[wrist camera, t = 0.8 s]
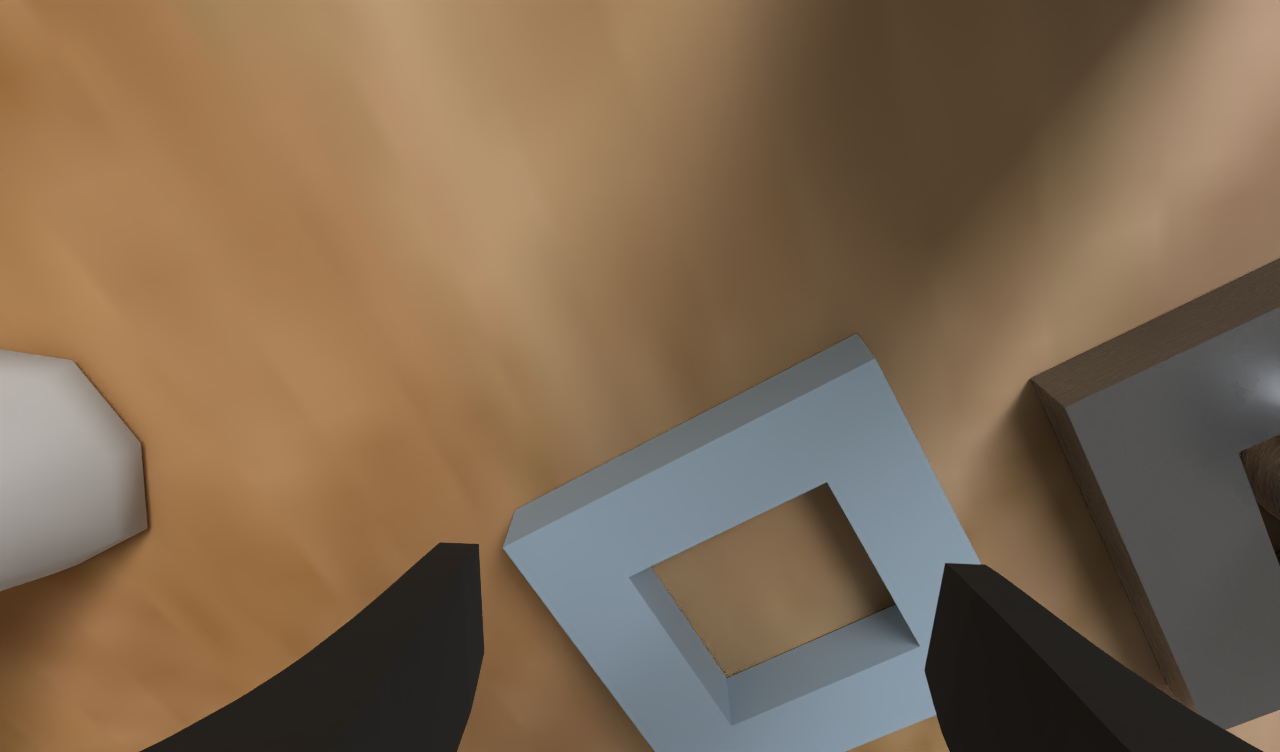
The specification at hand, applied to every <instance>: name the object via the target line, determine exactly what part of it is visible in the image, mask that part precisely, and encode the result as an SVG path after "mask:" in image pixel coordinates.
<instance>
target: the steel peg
mask: <svg viewBox="0 0 1280 752" xmlns="http://www.w3.org/2000/svg"><path fill="white" fill-rule="evenodd" d="M1241 461H1242V464H1243V467H1244V470H1245V472H1246V475H1247V478H1248V481H1249V483H1250V486H1251V489H1252V492H1253V494H1254V497H1255V500H1256V503H1257V504H1258V505H1260V506H1261V507H1263V508H1264V509H1265V510H1267V511H1268V512H1269V513H1271V514H1272V515H1273V516H1275V517H1276V518H1278V519H1279V520H1280V435H1278V436H1275V437H1273V438H1271V439H1268V440H1266V441H1264V442H1262V443H1259V444H1257V445H1255V446H1252V447H1250V448H1248V449H1246V450H1243V452H1242V456H1241Z"/></svg>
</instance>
